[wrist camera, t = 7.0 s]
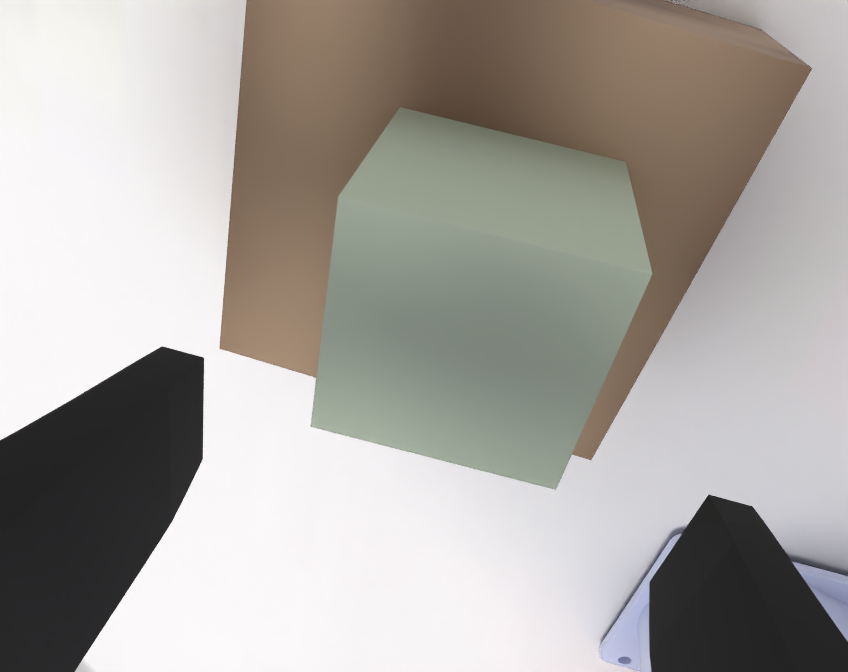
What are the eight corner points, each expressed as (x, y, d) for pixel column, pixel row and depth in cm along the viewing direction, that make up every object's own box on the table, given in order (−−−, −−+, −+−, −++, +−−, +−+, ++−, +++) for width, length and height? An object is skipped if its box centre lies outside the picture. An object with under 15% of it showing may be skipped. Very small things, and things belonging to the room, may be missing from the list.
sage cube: (625, 161, 13) (652, 273, 9) (556, 345, 16) (555, 489, 12) (399, 107, 13) (338, 196, 9) (368, 298, 16) (310, 426, 12)
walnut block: (756, 26, 15) (811, 68, 12) (586, 367, 21) (591, 460, 17) (321, -105, 15) (254, -101, 12) (273, 273, 21) (219, 348, 17)
